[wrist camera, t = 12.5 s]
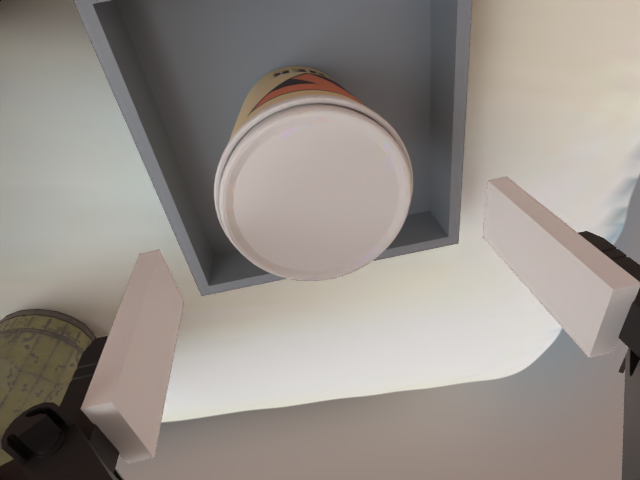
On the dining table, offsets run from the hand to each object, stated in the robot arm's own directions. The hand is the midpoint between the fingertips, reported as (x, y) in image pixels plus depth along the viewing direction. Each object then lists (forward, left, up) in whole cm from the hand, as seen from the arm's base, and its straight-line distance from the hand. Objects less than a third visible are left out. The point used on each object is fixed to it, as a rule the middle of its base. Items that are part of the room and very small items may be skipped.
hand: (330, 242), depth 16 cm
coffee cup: (0, 0, -15) cm, 15 cm away
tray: (0, 0, -16) cm, 16 cm away
